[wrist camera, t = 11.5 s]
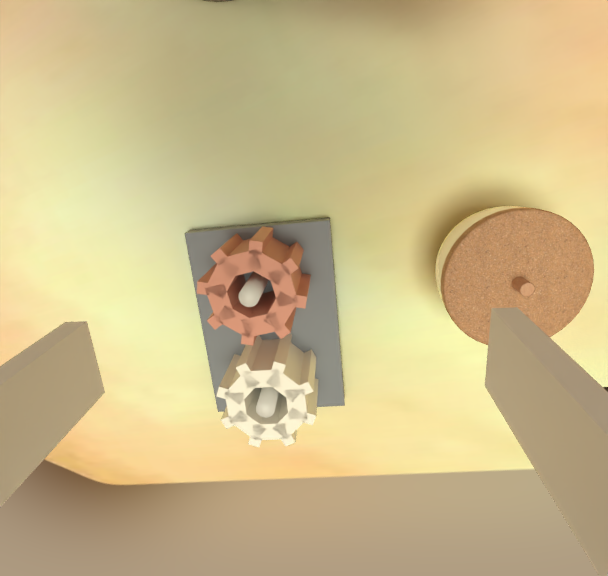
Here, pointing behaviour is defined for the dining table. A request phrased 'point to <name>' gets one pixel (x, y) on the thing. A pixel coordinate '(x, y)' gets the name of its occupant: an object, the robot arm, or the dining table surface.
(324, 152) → the dining table surface
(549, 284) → the lidded jar
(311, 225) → the gear board
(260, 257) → the gear
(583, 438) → the robot arm
